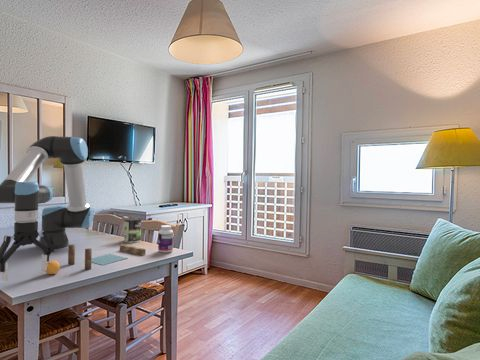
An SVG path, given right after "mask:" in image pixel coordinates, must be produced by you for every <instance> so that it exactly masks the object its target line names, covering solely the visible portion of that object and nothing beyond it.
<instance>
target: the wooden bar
mask: <svg viewBox="0 0 480 360" xmlns="http://www.w3.org/2000/svg"><path fill="white" fill-rule="evenodd" d="M119 251H120V252H124V253H125V252H126V253H130V254H134V255H138V256H145V255H146V251H147V250H146V248H141V247H138V246H137V247H136V246H132V245H127V244H119Z"/></svg>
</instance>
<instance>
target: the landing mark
mask: <svg viewBox="0 0 480 360" xmlns="http://www.w3.org/2000/svg"><path fill="white" fill-rule="evenodd" d="M127 259H128V257H124V256H121V255H117V254H113V253H112V254H111V253H108V254H103V255H100V256H95V257H91V264H92V263H93V264H95V265H99V266H105V265H106V266H107V265H109V264H112V263H116V262H117V263H118V262H120V261H123V260H127Z"/></svg>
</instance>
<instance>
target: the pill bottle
mask: <svg viewBox="0 0 480 360" xmlns="http://www.w3.org/2000/svg"><path fill="white" fill-rule="evenodd" d="M157 241H158V245H157V247H158V248H157V249H158V250H157V251H158V252H159V253H163V254H164V253H165V254H166V253H167V254H169V253H172V252H173V250H174V231H173V229H172V225H168V224H166V225H163V224H162V225H161V226H160V230H158V240H157Z"/></svg>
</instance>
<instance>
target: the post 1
mask: <svg viewBox="0 0 480 360" xmlns="http://www.w3.org/2000/svg"><path fill="white" fill-rule="evenodd" d="M67 247H68V250H67V251H68V252H67V257H68V258H67V265H68V266H72V265H75V258H76V257H75V256H76V254H75V253H76V251H75V250H76V244H69V245H68V246H67Z"/></svg>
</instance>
